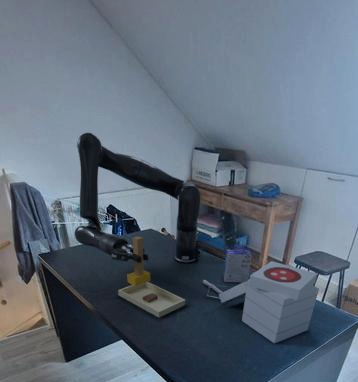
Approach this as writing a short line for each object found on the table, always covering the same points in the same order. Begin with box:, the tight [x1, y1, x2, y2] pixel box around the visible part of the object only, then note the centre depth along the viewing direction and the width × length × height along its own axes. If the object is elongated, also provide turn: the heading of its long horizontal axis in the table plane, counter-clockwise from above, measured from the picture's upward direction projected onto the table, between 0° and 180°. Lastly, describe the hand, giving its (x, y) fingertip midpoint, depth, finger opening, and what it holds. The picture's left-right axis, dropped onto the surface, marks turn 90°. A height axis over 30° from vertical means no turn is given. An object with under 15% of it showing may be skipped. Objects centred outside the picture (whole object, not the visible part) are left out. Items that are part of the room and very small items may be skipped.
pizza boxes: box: [218, 260, 320, 344], centre depth 108 cm, size 19×30×18 cm, turn 32°
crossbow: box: [202, 279, 232, 299], centre depth 129 cm, size 16×13×2 cm
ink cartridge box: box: [223, 244, 253, 284], centre depth 135 cm, size 10×6×14 cm, turn 89°
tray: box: [117, 281, 186, 318], centre depth 120 cm, size 22×13×3 cm, turn 46°
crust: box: [143, 293, 158, 303], centre depth 120 cm, size 3×4×1 cm, turn 136°
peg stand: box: [126, 236, 151, 286], centre depth 117 cm, size 4×7×16 cm, turn 136°
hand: (144, 258), depth 114 cm, fingers closed on peg stand, 2 cm apart
